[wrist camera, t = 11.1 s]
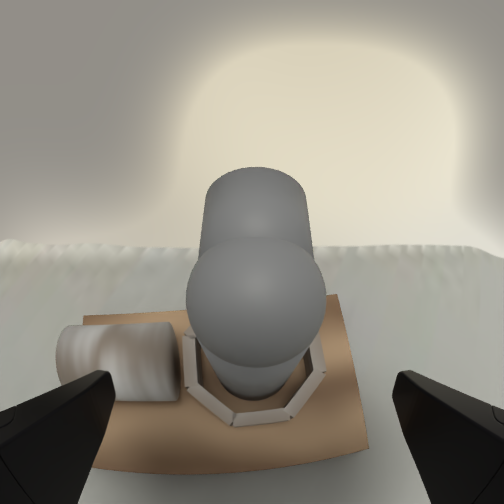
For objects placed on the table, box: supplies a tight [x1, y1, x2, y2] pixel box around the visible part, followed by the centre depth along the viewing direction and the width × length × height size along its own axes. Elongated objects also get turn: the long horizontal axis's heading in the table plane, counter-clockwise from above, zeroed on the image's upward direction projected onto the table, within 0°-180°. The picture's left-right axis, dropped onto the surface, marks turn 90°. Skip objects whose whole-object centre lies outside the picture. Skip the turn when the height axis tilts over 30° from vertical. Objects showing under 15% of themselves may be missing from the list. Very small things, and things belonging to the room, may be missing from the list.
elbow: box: [186, 167, 326, 401], centre depth 15 cm, size 7×5×14 cm
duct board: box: [56, 294, 369, 474], centre depth 18 cm, size 12×20×6 cm, turn 97°
